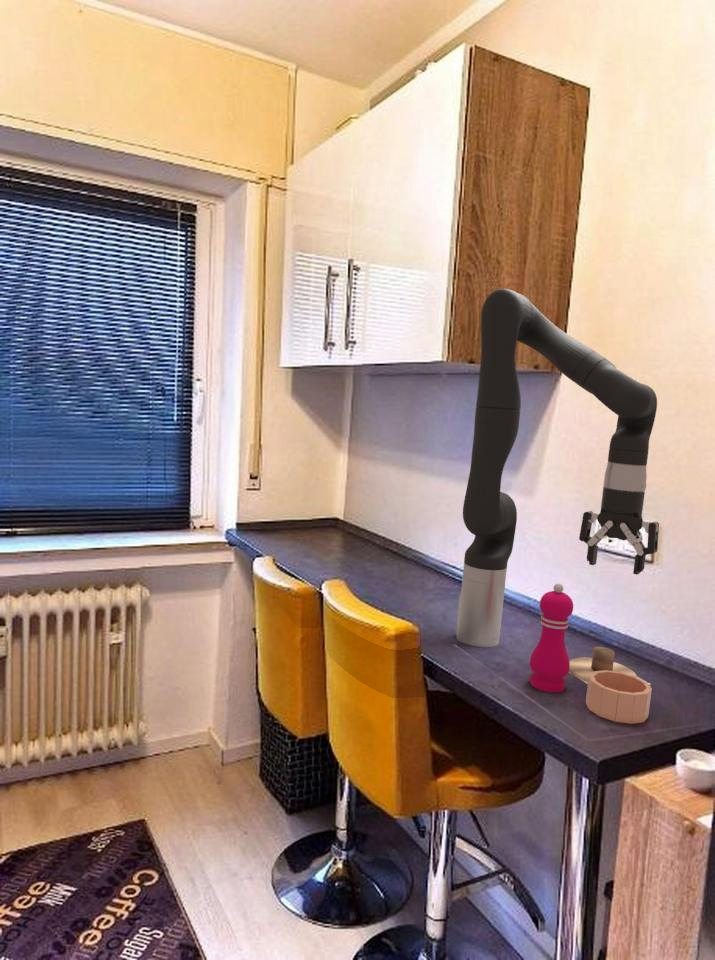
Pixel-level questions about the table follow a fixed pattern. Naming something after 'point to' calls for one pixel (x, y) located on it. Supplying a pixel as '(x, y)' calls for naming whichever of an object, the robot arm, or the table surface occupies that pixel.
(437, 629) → the table surface
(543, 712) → the table surface
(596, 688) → the bowl
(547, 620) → the pepper mill
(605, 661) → the lid
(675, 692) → the table surface
